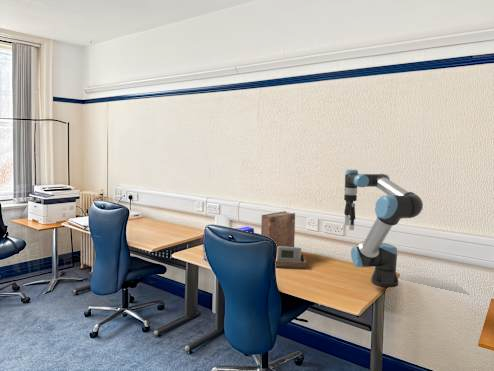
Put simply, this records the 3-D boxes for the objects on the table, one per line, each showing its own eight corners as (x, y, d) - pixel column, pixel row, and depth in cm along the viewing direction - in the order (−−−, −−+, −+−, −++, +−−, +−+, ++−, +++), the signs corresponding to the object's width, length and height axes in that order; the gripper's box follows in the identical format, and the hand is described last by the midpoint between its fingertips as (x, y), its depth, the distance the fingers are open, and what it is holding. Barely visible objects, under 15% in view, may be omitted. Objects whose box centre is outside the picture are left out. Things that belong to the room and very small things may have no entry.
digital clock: (275, 263, 253) (275, 247, 252) (279, 259, 262) (279, 244, 260) (299, 266, 248) (299, 250, 246) (302, 262, 256) (302, 247, 255)
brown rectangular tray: (306, 268, 246) (306, 262, 245) (273, 267, 247) (273, 261, 247) (304, 260, 263) (304, 254, 262) (273, 259, 264) (273, 253, 264)
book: (284, 250, 287) (286, 211, 283) (294, 252, 280) (295, 213, 276) (260, 256, 270) (261, 215, 267) (269, 259, 263) (270, 217, 260)
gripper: (340, 191, 249) (339, 223, 252) (348, 196, 225) (347, 231, 227) (352, 191, 249) (350, 223, 251) (361, 197, 224) (359, 232, 226)
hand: (349, 227), depth 239 cm, fingers open, 13 cm apart
